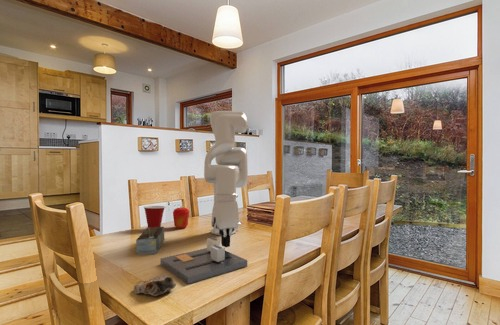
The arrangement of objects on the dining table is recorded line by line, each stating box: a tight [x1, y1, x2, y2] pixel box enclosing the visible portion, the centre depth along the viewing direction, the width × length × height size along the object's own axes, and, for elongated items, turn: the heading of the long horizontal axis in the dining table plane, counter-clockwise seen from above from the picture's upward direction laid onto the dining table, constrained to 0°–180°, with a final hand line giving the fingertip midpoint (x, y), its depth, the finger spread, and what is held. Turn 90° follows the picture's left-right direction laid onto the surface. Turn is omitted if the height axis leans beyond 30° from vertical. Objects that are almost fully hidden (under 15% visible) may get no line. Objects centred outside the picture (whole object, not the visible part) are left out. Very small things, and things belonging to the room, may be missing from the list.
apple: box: [172, 206, 190, 230], centre depth 148 cm, size 9×8×12 cm
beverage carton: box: [135, 226, 165, 255], centre depth 115 cm, size 8×19×7 cm, turn 8°
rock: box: [133, 274, 177, 297], centre depth 76 cm, size 9×6×10 cm
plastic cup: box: [143, 205, 166, 227], centre depth 145 cm, size 11×11×12 cm
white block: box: [211, 244, 226, 262], centre depth 94 cm, size 3×4×4 cm
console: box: [160, 247, 248, 285], centre depth 95 cm, size 22×20×2 cm
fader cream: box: [206, 236, 221, 251], centre depth 103 cm, size 3×4×4 cm
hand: (225, 246), depth 107 cm, fingers closed
